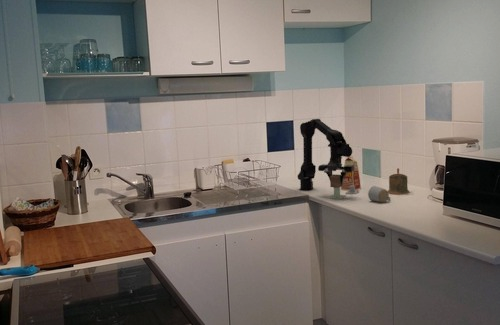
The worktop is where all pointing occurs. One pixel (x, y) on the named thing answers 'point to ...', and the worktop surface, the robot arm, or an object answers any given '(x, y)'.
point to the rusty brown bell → (398, 184)
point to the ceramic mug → (378, 194)
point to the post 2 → (352, 190)
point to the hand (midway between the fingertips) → (336, 183)
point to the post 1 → (336, 193)
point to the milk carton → (351, 175)
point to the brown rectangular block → (335, 181)
